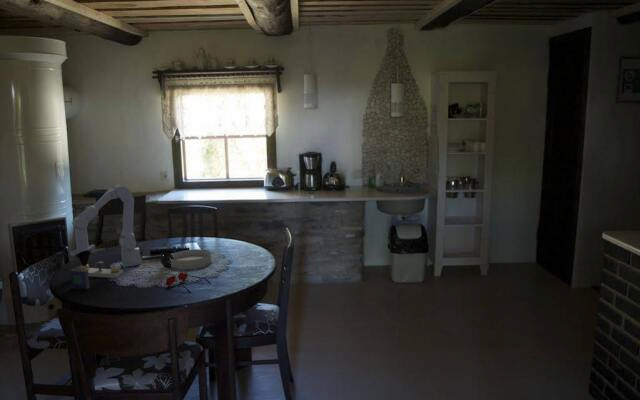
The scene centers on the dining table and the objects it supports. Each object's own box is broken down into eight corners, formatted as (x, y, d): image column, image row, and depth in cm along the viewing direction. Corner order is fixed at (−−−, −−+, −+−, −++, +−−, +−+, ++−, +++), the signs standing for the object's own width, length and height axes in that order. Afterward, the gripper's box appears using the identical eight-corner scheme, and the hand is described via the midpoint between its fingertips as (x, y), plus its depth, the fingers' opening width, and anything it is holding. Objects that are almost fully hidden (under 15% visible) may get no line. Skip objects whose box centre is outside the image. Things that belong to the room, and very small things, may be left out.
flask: (91, 288, 239) (88, 266, 237) (86, 290, 236) (84, 268, 234) (74, 286, 242) (72, 265, 240) (70, 288, 239) (67, 267, 237)
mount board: (123, 273, 260) (123, 269, 259) (114, 278, 253) (114, 274, 253) (86, 271, 265) (86, 267, 265) (77, 275, 258) (77, 271, 258)
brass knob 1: (89, 271, 264) (88, 263, 263) (90, 273, 260) (89, 265, 260) (80, 272, 262) (80, 265, 261) (81, 274, 258) (80, 266, 258)
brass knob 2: (119, 272, 259) (118, 265, 259) (120, 274, 256) (119, 267, 255) (110, 274, 257) (110, 266, 257) (112, 276, 254) (111, 268, 253)
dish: (161, 267, 270) (160, 258, 269) (186, 256, 290) (186, 247, 289) (195, 271, 261) (195, 262, 260) (219, 259, 281) (219, 251, 281)
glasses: (186, 279, 249) (185, 269, 248) (211, 284, 241) (211, 274, 240) (164, 288, 237) (164, 278, 236) (190, 293, 229) (189, 283, 228)
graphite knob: (103, 268, 261) (102, 260, 261) (104, 270, 258) (104, 262, 257) (95, 269, 259) (94, 262, 259) (96, 271, 256) (95, 264, 255)
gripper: (76, 244, 250) (79, 270, 252) (98, 237, 263) (101, 262, 266) (65, 243, 252) (68, 269, 255) (88, 236, 266) (90, 261, 268)
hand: (84, 265), depth 260 cm, fingers closed, pressing on brass knob 1
